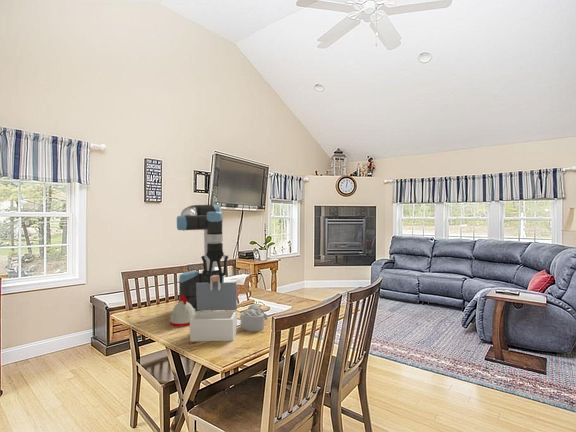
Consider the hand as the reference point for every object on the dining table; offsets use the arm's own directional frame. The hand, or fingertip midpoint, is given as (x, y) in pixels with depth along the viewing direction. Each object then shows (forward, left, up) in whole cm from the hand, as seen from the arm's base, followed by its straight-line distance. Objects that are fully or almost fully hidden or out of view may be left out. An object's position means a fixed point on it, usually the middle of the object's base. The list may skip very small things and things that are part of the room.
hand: (215, 289), depth 172 cm
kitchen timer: (-17, -21, -22) cm, 35 cm away
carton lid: (+3, 0, -2) cm, 4 cm away
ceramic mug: (-21, +20, -22) cm, 36 cm away
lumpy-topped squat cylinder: (-7, +18, -22) cm, 29 cm away
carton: (+4, 0, -22) cm, 22 cm away
